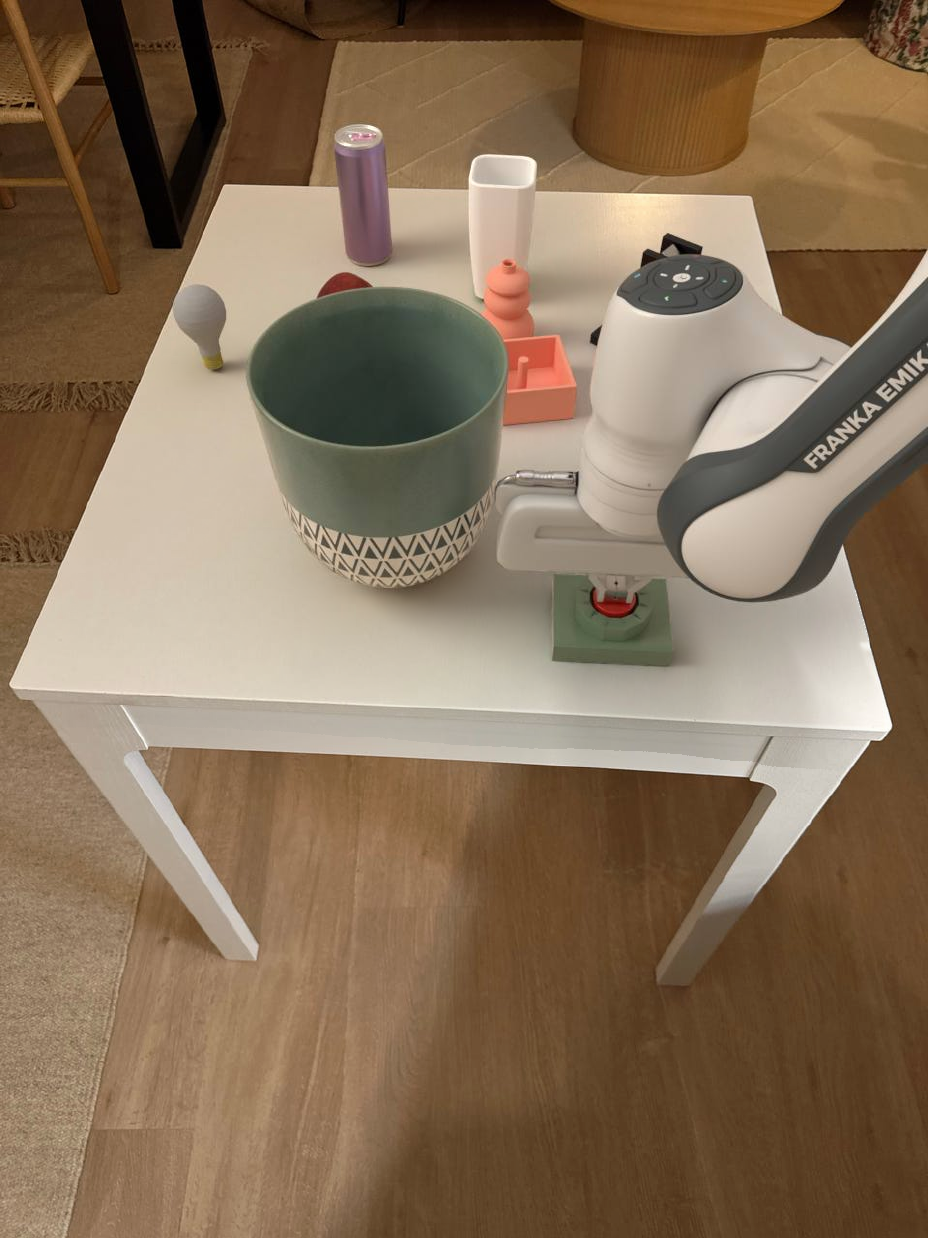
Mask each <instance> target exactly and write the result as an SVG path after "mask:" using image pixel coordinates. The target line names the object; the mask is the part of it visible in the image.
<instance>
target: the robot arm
mask: <svg viewBox="0 0 928 1238" xmlns="http://www.w3.org/2000/svg"><path fill="white" fill-rule="evenodd" d="M915 268H916V269H915V270H914V271H913V273H912V275H911V276H910V278H909V280H908V281H907V282H906V283H905V285H904V287H903V288H902V290H901V291H900V292H899V294H898V295H897V297H896V298H895V300H893V302H892V303H891V304H890V306H889V307H888V308H887V310H885V312H884V313H883V314H882V315H881V316H880V318H879V319H878V320H877V321H876V322H875V323H874V324H873V325H872V327H870V328H869V329H868V331H866V333H865V334H864V335H862V337H861V338H860V339H858V340H857V341H856V342H855V343H854V345H851V344H849V343H847V342H845V341H844V340H841V339H840V338H839V339H838V338H836V337H833V336H830V335H826V334H821V333H817V332H812V331H810V330H808V329H807V328H804V327H802V326H801V325H799V324H797V323H796V322H794V321H792V320H790V319H789V318H788V317H786V316H784V315H783V314H781V313H780V312H778V310H776V309H775V308H773V307H772V306H770V305H769V304H768V302H766V301H765V300H764V298H762V297H761V296H760V295H759V294H758V292H757V291H756V290H755V288H754V286H753V285H752V283H751V282H750V280H749V279H748V277H747V276H746V274H745V273H744V272H743V271H742V270H741V269H740V268H739V267H737V265H735V264H733V263H731V262H729V261H727V260H724V259H722V258H719V257H716V256H711V255H705V254H701V255H698V254H684V255H675V256H669V257H667V258H663V259H660V260H656V261H653V262H650V263H648V264H646V265H644V266H643V267H641V268H640V267H639V268H638V269H636V270H635V271H633V272H632V273H631V274H629V275H628V276H627V277H626V278H625V279H624V280H623V281H622V282H621V283H620V285H619V286H618V287H617V288H616V290H615V291H614V293H613V294H612V297H611V299H610V301H609V303H608V305H607V309H606V310H605V313H604V318H603V321H602V324H601V325H602V328H601V332H600V336H599V340H598V345H596V349H595V355H594V361H593V365H592V371H591V377H590V385H589V398H590V404H591V408H592V412H591V415H590V417H589V419H588V421H587V423H586V425H585V428H584V431H583V436H582V442H581V448H580V449H581V450H580V454H579V455H580V456H579V463H578V470H576V471H565V470H564V471H563V470H552V471H551V470H550V471H537V470H536V471H535V470H534V469H519V470H516V471H515V474H511V475H507V476H505V477H503V478H501V479H499V480H498V481H497V482H496V487H495V494H494V499H493V503H494V507H495V509H496V510H497V512H498V513H499V519H498V526H497V535H496V538H497V539H496V551H495V553H496V554H495V555H496V558H495V559H496V561H497V562H498V563H499V564H500V565H501V566H502V567H503V568H504V569H506V570H512V571H530V572H531V571H532V572H549V573H550V572H552V573H554V572H555V573H572V574H573V573H574V574H587V575H588V578H589V580H590V581H591V582H592V584H593V585H594V586H595V587H596V598H597V602H615V603H632V599H633V595H634V592H637V591H638V590H640V589H641V588H642V587H644V586H645V585H646V584H648V583H649V582H651V579H652V578H653V577H659V578H677V579H678V578H679V579H680V578H681V579H690V580H691V581H692V582H693V583H694V584H696V586H698V587H700V588H701V589H703V590H704V591H706V592H708V593H710V594H712V595H714V596H716V597H719V598H722V599H724V600H725V599H726V600H728V601H733V602H738V603H739V602H741V603H768V602H775V601H781V600H785V599H790V598H793V597H797V596H800V595H802V594H805V593H808V592H810V591H812V590H813V589H814V588H817V586H819V585H820V584H822V583H823V581H824V580H825V579H827V577H828V575H829V574H830V573H831V571H832V570H833V567H834V566H835V563H836V561H837V559H838V557H839V554H840V552H841V549H842V547H843V545H844V543H845V541H846V539H847V537H848V535H849V534H850V532H851V531H852V530H853V528H854V527H855V526H856V524H857V523H858V522H859V521H860V520H861V519H862V518H863V517H864V516H865V515H866V514H867V513H868V512H869V511H870V510H871V509H872V508H873V507H875V506H876V505H877V504H878V503H879V502H881V501H882V500H883V499H885V497H887V496H888V495H889V494H890V493H892V492H893V491H894V490H895V489H896V488H898V487H899V486H900V485H901V484H902V483H904V482H906V480H907V479H908V478H910V477H911V476H912V475H914V474H915V473H916V472H918V470H920V469H921V468H922V467H923V466H925V465H926V464H927V463H928V249H927V250H926V252H925V253H924V255H923V257H922V258H921V260H920V262H919V264H918V265H917V267H915ZM606 574H614V575H606Z"/></svg>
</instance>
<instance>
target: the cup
mask: <svg viewBox="0 0 928 1238" xmlns="http://www.w3.org/2000/svg"><path fill="white" fill-rule="evenodd" d="M537 169H538V163H537V161H536V160H534V158H532V157H529V156H525V155H512V154H511V155H509V154H508V155H507V154H490V153H489V154H480V155H478V156H476V157H474V158H473V160H472V161H471V166H470V171H469V176H468V234H469V235H468V237H469V238H468V239H469V254H470V255H469V256H470V266H471V275H472V282H473V283H472V284H473V291H474V295H475V296H476V297H477V298H479V299H481V300H483V301H484V294H485V291H486V289H487V288H488V286H487V284H486V277H487V274H488V272H489V271H490V270H492V269H493V268H495V267H497V266H499V265H501V261H502V260H504V259H513V260H515V261H516V266H519V267H521V268H522V269H524V270H525V271H526V272H527V273H528V264H529V258H530V251H531V242H532V231H533V224H534V223H533V222H534V216H535V215H534V214H535V213H534V212H535V201H536V189H537V173H538V172H537V171H538V170H537Z"/></svg>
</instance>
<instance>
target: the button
mask: <svg viewBox="0 0 928 1238" xmlns="http://www.w3.org/2000/svg"><path fill="white" fill-rule="evenodd" d="M635 602H636V596H635V593H634V595H633V599H632V603H615V602H597V598H596V588H595V590H594V593H593V598H592V604H591V605H592V606H593V607H594V609H595V610H596V611H597V612H599V613H601V614H603V615H605V616H607V617H609V618H623V617H626V616H628V615H630V614H633V610H634V606H635Z"/></svg>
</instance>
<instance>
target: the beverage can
mask: <svg viewBox="0 0 928 1238" xmlns="http://www.w3.org/2000/svg"><path fill="white" fill-rule="evenodd" d="M333 150H334V160H335V170H336V176H337V177H336V178H337V186H338V187H337V188H338V195H339V196H338V197H339V203H340V204H339V205H340V213H341V222H342V231H343V238H344V249H345V254H346V256H347V257H348V259H349V260H350V261H351V262H352V263H353V264H355V265H358V266H362V267H374V266H379V265H382V264H383V263H386V262H387V261H388V259H389V258H390V257H391V254H392V253H393V242H392V227H391V225H392V224H391V212H390V211H391V210H390V197H389V182H388V167H387V153H386V142H385V140H384V134H383V132H382V131H381V129H380V128H379V127H376V126H374V125H369V124H365V123H363V124H362V123H358V124H350V125H345V126H343V127H341V128H340V129H338V130H336V132H335V133H334V144H333Z"/></svg>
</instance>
